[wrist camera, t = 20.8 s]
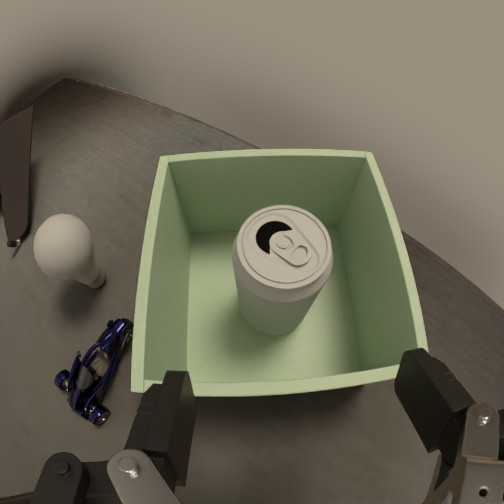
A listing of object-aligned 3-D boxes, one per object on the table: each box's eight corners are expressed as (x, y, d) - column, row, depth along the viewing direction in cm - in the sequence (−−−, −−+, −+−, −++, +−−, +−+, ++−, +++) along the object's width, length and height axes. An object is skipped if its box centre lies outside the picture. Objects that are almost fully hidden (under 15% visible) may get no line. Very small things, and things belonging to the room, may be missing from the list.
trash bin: (180, 394, 24) (130, 391, 14) (187, 231, 32) (160, 156, 22) (366, 382, 24) (431, 369, 14) (341, 225, 33) (371, 151, 22)
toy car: (100, 431, 22) (80, 433, 18) (60, 391, 24) (39, 388, 20) (159, 342, 27) (145, 334, 23) (115, 308, 28) (98, 295, 25)
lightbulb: (127, 257, 31) (83, 199, 21) (116, 309, 28) (59, 264, 18) (85, 255, 31) (36, 202, 22) (73, 302, 28) (13, 260, 19)
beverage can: (268, 262, 30) (275, 183, 19) (319, 300, 28) (356, 237, 17) (226, 307, 28) (206, 247, 17) (278, 350, 26) (295, 317, 15)
